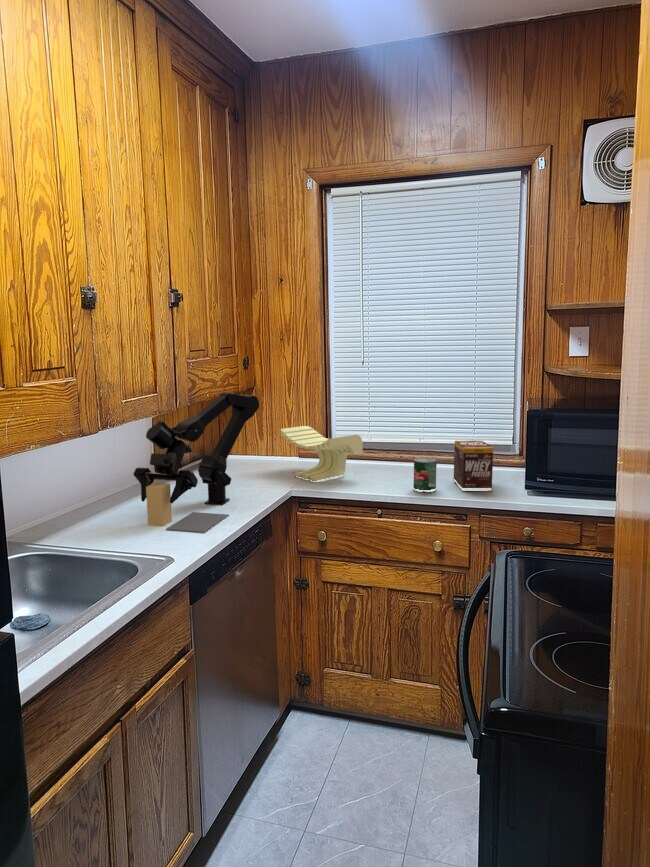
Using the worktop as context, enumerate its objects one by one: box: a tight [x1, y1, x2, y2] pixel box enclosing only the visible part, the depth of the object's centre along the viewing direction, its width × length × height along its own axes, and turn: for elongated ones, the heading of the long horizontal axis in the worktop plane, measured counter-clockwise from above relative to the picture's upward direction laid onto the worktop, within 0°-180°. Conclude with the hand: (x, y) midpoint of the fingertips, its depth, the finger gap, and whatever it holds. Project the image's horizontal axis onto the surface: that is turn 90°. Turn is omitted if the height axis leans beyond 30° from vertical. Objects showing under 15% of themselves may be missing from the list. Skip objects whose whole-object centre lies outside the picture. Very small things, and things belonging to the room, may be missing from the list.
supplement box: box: [453, 440, 494, 489], centre depth 224 cm, size 10×15×16 cm
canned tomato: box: [413, 456, 437, 490], centre depth 219 cm, size 8×8×11 cm
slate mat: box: [165, 511, 230, 534], centre depth 185 cm, size 17×12×1 cm
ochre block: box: [146, 482, 173, 527], centre depth 184 cm, size 5×5×12 cm
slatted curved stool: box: [280, 425, 364, 481], centre depth 241 cm, size 30×16×18 cm, turn 40°
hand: (156, 501), depth 183 cm, fingers open, 9 cm apart
